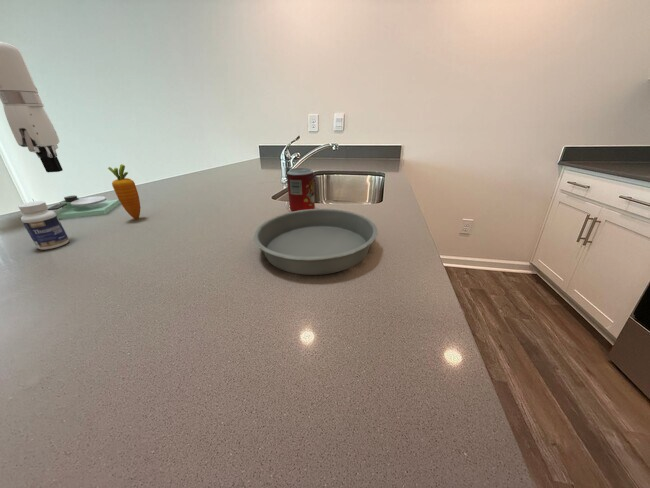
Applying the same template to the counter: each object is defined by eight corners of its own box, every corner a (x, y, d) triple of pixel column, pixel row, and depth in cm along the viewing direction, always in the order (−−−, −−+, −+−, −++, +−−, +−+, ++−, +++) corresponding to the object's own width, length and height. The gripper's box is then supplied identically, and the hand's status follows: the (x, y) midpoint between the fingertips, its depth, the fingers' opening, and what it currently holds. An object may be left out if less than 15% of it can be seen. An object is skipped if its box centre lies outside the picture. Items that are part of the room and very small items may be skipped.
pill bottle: (42, 252, 55) (16, 209, 51) (34, 247, 58) (9, 205, 54) (73, 242, 59) (52, 202, 55) (65, 238, 62) (44, 198, 58)
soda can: (313, 217, 70) (310, 171, 64) (287, 217, 71) (283, 172, 65) (316, 209, 76) (314, 166, 71) (293, 209, 77) (289, 167, 71)
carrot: (122, 221, 71) (99, 165, 64) (139, 215, 75) (120, 162, 68) (134, 223, 69) (112, 166, 63) (151, 217, 73) (132, 163, 67)
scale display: (47, 210, 72) (46, 209, 72) (57, 205, 76) (57, 204, 76) (57, 209, 73) (57, 208, 73) (67, 204, 77) (67, 203, 77)
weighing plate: (65, 207, 74) (64, 205, 74) (80, 199, 81) (79, 198, 81) (99, 204, 76) (98, 202, 76) (111, 196, 84) (110, 195, 83)
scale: (46, 220, 74) (40, 210, 72) (70, 207, 84) (66, 198, 83) (105, 214, 77) (101, 204, 76) (121, 202, 88) (117, 194, 87)
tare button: (64, 203, 80) (61, 198, 79) (69, 200, 82) (67, 195, 81) (75, 202, 80) (73, 197, 80) (80, 199, 83) (78, 195, 82)
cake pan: (264, 228, 64) (261, 211, 62) (361, 222, 66) (362, 205, 64) (246, 286, 42) (241, 262, 40) (393, 275, 44) (395, 252, 42)
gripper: (23, 102, 73) (54, 168, 81) (-21, 98, 60) (20, 177, 68) (56, 102, 75) (83, 166, 83) (20, 98, 62) (55, 175, 70)
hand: (55, 171), depth 76 cm, fingers closed
